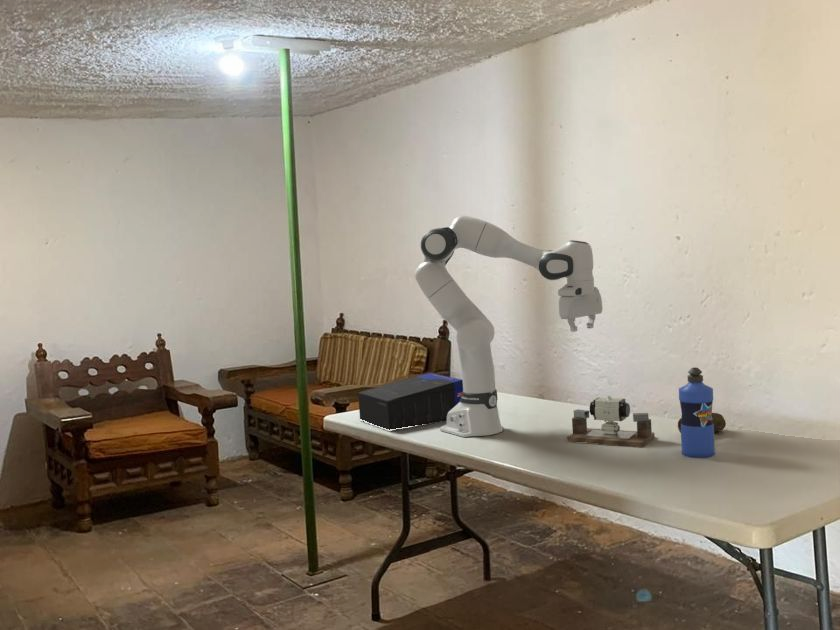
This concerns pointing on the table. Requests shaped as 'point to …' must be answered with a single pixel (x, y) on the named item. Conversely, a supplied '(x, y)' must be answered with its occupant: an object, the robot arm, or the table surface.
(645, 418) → the grey long bracket
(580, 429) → the shaft rig base
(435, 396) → the headphone box
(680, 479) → the table surface
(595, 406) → the pneumatic valve
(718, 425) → the brown wooden cylinder
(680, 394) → the water bottle
